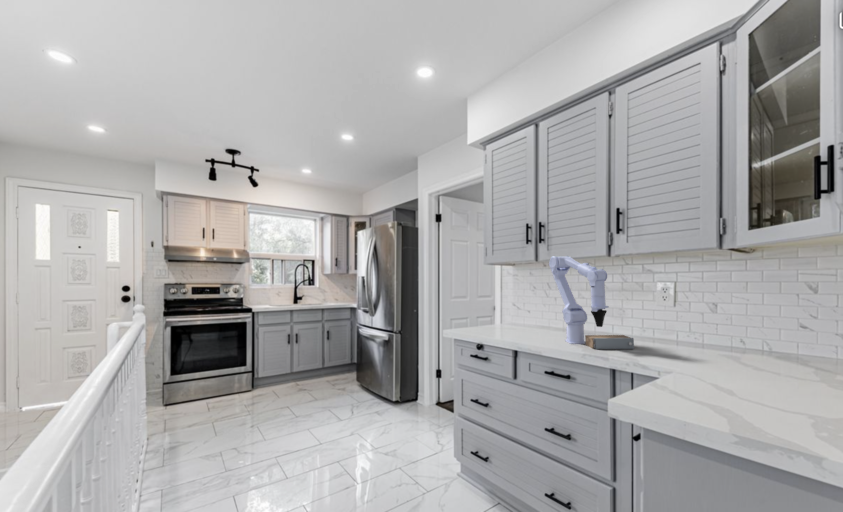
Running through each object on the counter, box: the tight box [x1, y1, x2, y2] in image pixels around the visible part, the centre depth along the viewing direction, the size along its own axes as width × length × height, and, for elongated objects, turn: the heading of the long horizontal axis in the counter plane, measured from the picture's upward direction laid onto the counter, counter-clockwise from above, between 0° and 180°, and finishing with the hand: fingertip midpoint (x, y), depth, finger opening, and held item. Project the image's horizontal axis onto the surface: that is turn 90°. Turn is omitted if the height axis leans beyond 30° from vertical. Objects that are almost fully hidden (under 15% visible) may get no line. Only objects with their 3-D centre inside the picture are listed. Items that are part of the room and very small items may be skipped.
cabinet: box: [584, 334, 632, 350], centre depth 165 cm, size 9×17×4 cm, turn 85°
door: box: [593, 337, 635, 350], centre depth 159 cm, size 2×17×4 cm, turn 85°
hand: (599, 326), depth 163 cm, fingers closed
